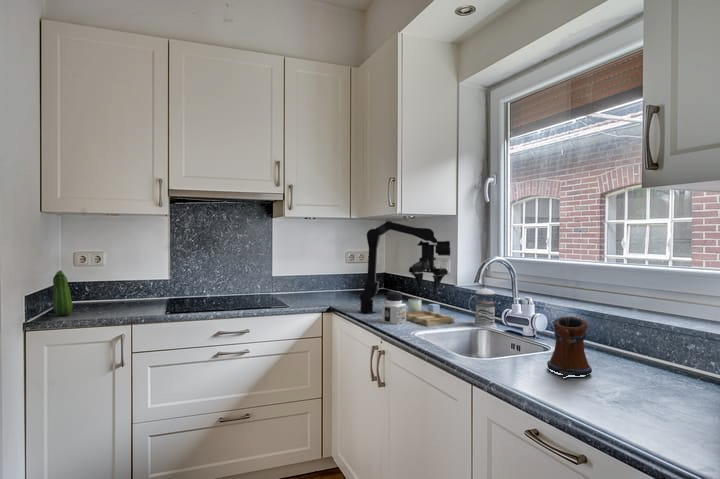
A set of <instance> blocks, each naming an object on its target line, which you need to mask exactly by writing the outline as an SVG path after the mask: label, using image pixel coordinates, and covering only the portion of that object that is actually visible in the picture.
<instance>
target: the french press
mask: <svg viewBox="0 0 720 479" xmlns="http://www.w3.org/2000/svg"><path fill="white" fill-rule="evenodd" d="M487 269H489V266H488V267H487V268H486V269H485V268H484V270H485V276H484V277H485V279H484V280H485V281H484V283H485V284H484V288H480V289H478V290H475V294H474V295H472V296H471V297H470V298H469V300H468V303H470V302H471V300H472V299H473V298H475V299H476V300H477V294H478V295H483V296H484V298H486V296H487V295H488V296H494V295H495V294H496V292H495V291H494V290H492V289H489V288H487V286H486V285H487V284H486V283H487V277H486V276H487ZM476 303H477V304H475V311H474V310H473V309H471V307H470V305H468V307H469V311H470V312H472V313H473V314H474V322H473V324H472V325H473V327H478V328H485V329H491V328H492V329H493V328H497V327H498V326H497V324H496V323H495V318H496V317H495V311H496V310H495V305H494V304H495V302H494V301H490V300H477V301H476Z"/></svg>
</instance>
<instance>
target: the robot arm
mask: <svg viewBox="0 0 720 479" xmlns="http://www.w3.org/2000/svg"><path fill="white" fill-rule="evenodd" d="M388 231H395V232H398V233H404V234H407V235H411V236H414V237H416V238H418V239H421V240H419V243H417V246H418V247H419V246H421V257H419V260H418V261H417V262H415V263H413V264H412V266H410V267H409V269H408V272H409V273H410V275H412V276H413V277H414V278H415V280H416V283H417V286H418V289H421V288H422V286H423V279H424V273H428V274H429V273H430V274H433V275H432V278H433V289H434V291H437V290H438V288H439V285H440V284H441V281H442V280H443V278H444V277H446V275H447V276H448V269H447V268H445V267H436V266H435V261H436V260H437V258H436V257H435V254H436V255H437V256H439V257H440V256H444V257H447V256H448V257H449V256H451V241H450V240H443V241H442V240H441V241H438V239H437V238H436V237H435V232H434V230H433V229H431V228H428V227H427V228H425V227H424V228H423V227H415V226H410V225H405V224H401V223H398V222H397V223H396V222H393V221H390V220H388V221H385V222H384V223H383V224H381V225H379V226H378V227H376V228H371V229H369V230H367V232H366V239H367V245H368V260H367V278H366V280H365V283H364V289H363V292H362V293H361V294H360V295H359V300H360V310H357V312H358V313H361V314H363V315H365V314H376V311H374V300H373V299H374V297H375V296H376V295H377V293H378V291H380V286H379V285H380V281H377V263H378V262H377V260H378V247H379V244H380V239H381V236H382V235H384V234H385V233H387V232H388ZM430 242H431V243H430ZM432 243H433V244H432Z"/></svg>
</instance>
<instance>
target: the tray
mask: <svg viewBox="0 0 720 479" xmlns="http://www.w3.org/2000/svg"><path fill="white" fill-rule="evenodd" d="M406 321H410V322H413V323H417V324H418V325H419V324H420V325H422V326H426V327H431V326H440V325H441V326H442V325H449V324H450V325H451V324H455V318H454V317H452V316H448V315H444V314H442V313H434V312H430V311H428V310H427V309H426V310H425V309H423V310H421V311H413V312H408V311H406Z"/></svg>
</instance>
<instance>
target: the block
mask: <svg viewBox="0 0 720 479" xmlns="http://www.w3.org/2000/svg"><path fill="white" fill-rule="evenodd" d="M440 306H441V305H440V304H436V303H428V304H427V311H430V312H434V313H438V314H441V311H440V310H441V307H440Z"/></svg>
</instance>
